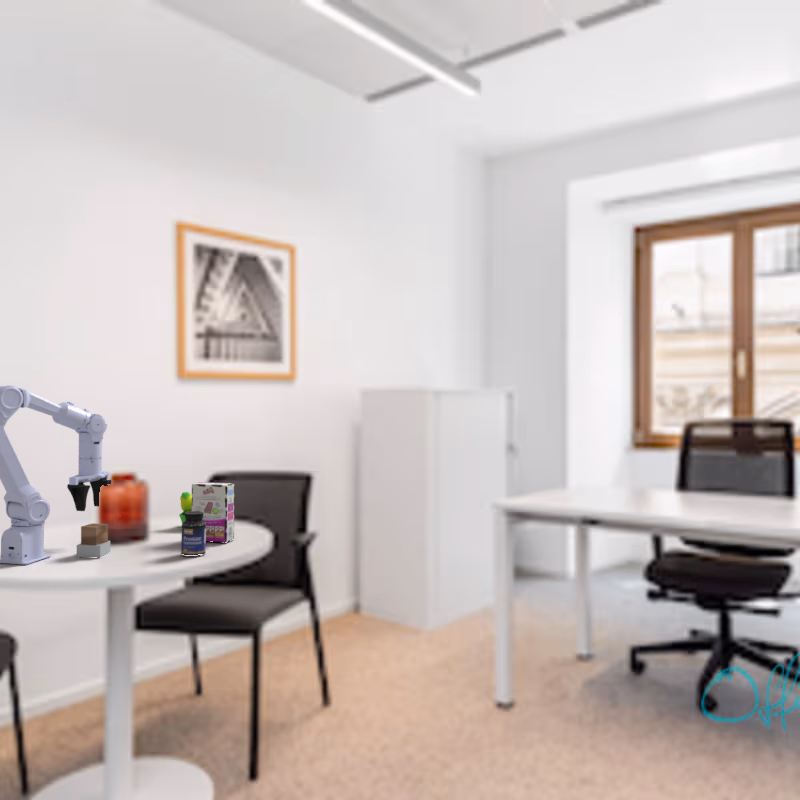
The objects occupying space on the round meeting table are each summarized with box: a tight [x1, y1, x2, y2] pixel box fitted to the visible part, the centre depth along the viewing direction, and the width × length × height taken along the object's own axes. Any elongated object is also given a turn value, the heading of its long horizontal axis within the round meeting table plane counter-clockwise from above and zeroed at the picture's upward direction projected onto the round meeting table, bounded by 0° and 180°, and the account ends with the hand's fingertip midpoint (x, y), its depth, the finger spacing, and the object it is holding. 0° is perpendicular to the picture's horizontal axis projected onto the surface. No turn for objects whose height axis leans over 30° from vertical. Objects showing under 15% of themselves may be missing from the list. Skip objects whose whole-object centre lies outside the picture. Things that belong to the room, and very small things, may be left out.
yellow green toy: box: [178, 491, 192, 524], centre depth 219 cm, size 11×9×11 cm
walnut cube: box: [80, 522, 109, 545], centre depth 181 cm, size 4×4×4 cm
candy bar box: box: [191, 481, 235, 543], centre depth 200 cm, size 11×5×16 cm, turn 76°
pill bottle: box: [180, 511, 207, 555], centre depth 183 cm, size 6×6×11 cm
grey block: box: [76, 540, 111, 559], centre depth 181 cm, size 6×6×4 cm
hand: (89, 508), depth 190 cm, fingers open, 7 cm apart
